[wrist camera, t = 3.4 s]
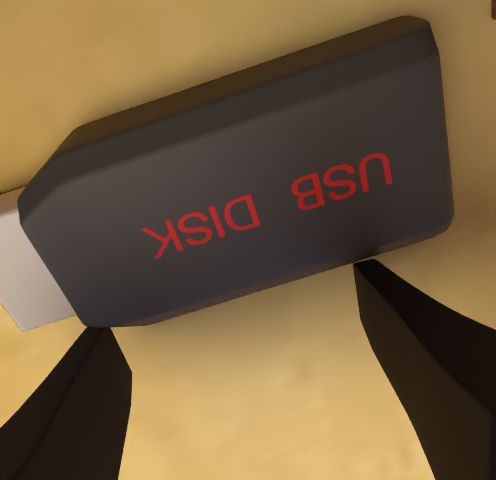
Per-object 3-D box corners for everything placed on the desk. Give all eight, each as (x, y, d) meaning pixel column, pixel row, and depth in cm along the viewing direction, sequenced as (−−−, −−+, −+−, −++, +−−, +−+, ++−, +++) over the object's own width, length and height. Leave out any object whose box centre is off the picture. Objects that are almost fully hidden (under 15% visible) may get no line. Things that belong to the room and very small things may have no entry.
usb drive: (429, 197, 14) (476, 242, 12) (59, 313, 15) (32, 377, 13) (407, 13, 12) (461, 22, 9) (-38, 165, 12) (-95, 211, 10)
